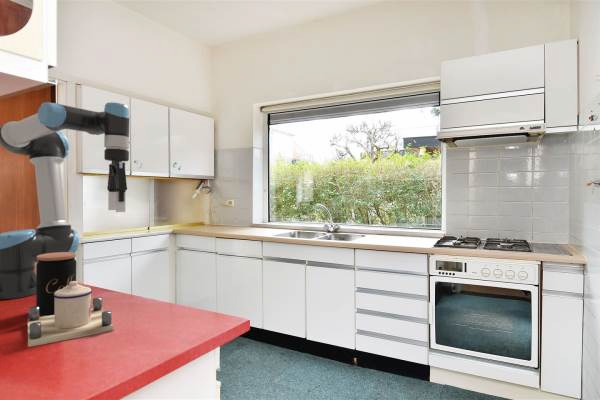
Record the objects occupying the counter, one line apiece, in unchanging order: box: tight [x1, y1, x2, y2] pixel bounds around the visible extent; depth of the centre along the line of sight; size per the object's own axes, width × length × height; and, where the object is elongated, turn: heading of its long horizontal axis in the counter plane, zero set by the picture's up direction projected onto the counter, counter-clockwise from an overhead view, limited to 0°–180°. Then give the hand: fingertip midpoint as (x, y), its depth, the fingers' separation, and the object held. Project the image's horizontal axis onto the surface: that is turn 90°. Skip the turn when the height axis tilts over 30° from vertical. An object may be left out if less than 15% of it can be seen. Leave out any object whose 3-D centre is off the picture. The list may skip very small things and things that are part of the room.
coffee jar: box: [35, 252, 77, 316], centre depth 117 cm, size 11×11×18 cm
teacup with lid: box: [54, 280, 93, 328], centre depth 103 cm, size 12×9×12 cm
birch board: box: [27, 307, 115, 348], centre depth 103 cm, size 19×19×2 cm
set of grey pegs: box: [28, 296, 112, 340], centre depth 103 cm, size 18×18×4 cm
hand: (116, 211), depth 126 cm, fingers open, 13 cm apart
